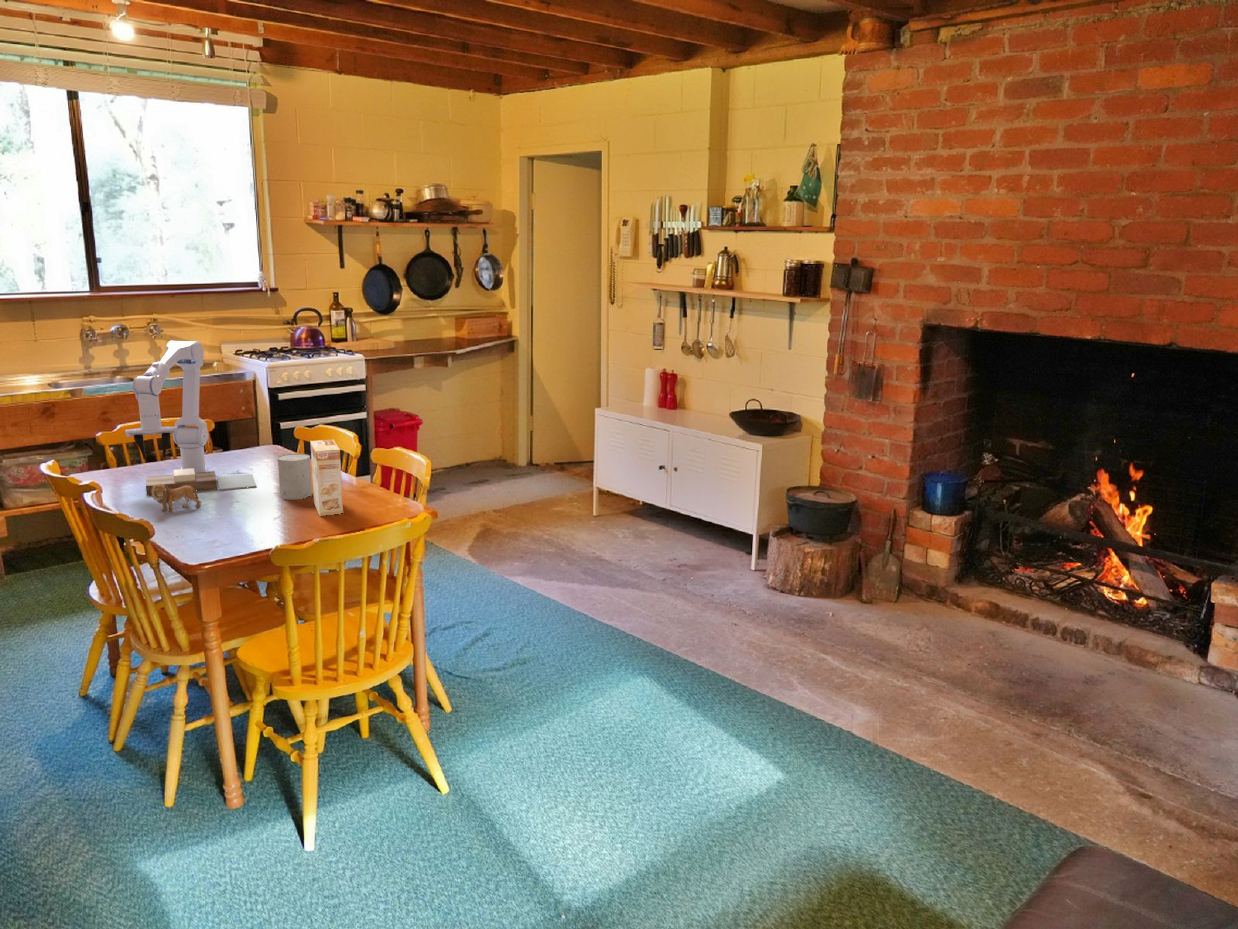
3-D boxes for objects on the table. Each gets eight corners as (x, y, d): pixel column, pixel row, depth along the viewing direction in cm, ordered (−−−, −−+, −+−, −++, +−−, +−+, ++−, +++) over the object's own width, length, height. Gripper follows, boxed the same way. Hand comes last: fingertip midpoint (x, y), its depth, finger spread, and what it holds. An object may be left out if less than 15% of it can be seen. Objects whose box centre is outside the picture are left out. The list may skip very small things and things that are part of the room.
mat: (216, 478, 308) (216, 476, 308) (252, 475, 312) (252, 473, 312) (219, 490, 294) (219, 489, 294) (256, 487, 298) (256, 485, 298)
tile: (174, 475, 298) (173, 469, 298) (194, 474, 301) (194, 468, 300) (174, 482, 291) (173, 475, 291) (195, 480, 294) (194, 474, 293)
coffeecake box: (344, 514, 273) (340, 449, 268) (318, 516, 270) (314, 451, 265) (337, 500, 286) (334, 438, 281) (313, 503, 283) (309, 440, 278)
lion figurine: (159, 517, 266) (156, 486, 264) (149, 513, 269) (146, 483, 267) (206, 505, 278) (203, 476, 276) (196, 502, 281) (193, 473, 279)
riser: (147, 485, 297) (146, 476, 297) (215, 479, 306) (214, 471, 305) (146, 495, 287) (145, 486, 286) (217, 489, 295) (216, 480, 295)
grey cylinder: (275, 494, 291) (273, 455, 288) (306, 489, 297) (303, 452, 294) (285, 501, 284) (283, 462, 281) (316, 496, 290) (314, 458, 287)
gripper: (123, 418, 281) (127, 462, 284) (176, 415, 287) (180, 458, 290) (124, 414, 287) (128, 457, 290) (175, 411, 293) (179, 453, 297)
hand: (154, 457), depth 291 cm, fingers open, 5 cm apart
